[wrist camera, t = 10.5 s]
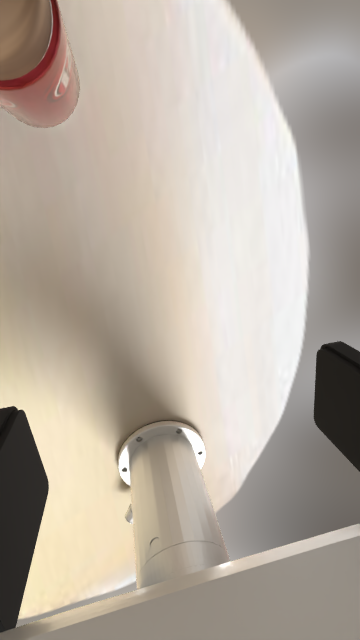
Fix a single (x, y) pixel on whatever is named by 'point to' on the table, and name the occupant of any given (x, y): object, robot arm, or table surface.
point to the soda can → (45, 83)
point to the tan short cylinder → (23, 35)
